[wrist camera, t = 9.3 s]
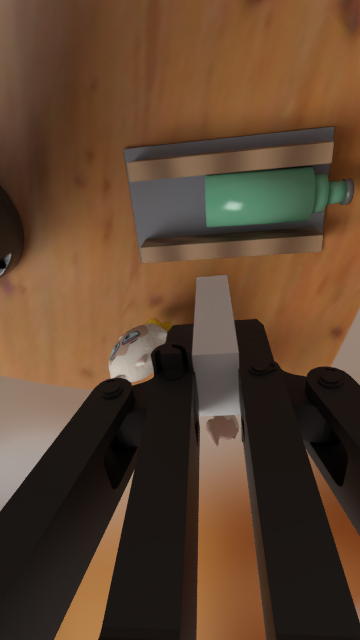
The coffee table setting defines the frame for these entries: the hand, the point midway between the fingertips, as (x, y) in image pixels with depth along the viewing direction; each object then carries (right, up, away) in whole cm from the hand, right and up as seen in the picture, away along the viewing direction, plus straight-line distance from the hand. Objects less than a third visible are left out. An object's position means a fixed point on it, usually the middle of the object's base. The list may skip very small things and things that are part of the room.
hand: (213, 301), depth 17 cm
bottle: (+1, +12, +19) cm, 22 cm away
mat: (+4, +13, +21) cm, 25 cm away
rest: (+4, +13, +21) cm, 25 cm away
